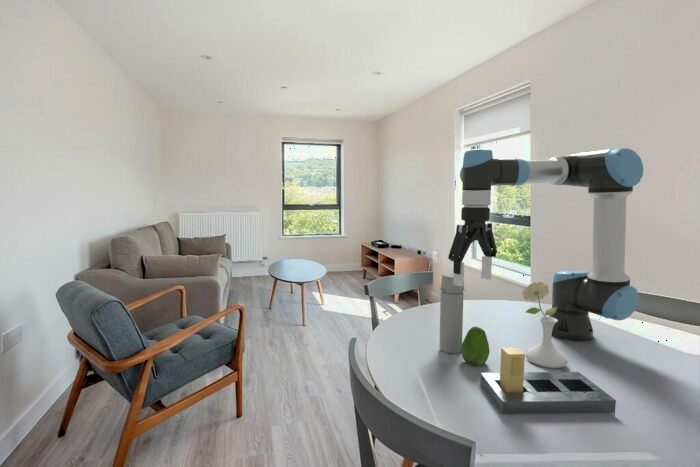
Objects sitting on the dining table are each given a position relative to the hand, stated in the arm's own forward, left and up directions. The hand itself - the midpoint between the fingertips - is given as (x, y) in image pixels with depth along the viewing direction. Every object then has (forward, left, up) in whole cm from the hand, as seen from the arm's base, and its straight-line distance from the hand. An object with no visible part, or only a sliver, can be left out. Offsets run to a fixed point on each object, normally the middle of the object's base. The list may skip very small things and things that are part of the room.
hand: (472, 282), depth 108 cm
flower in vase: (-24, -5, -26) cm, 36 cm away
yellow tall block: (-5, +16, -25) cm, 30 cm away
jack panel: (-13, +16, -26) cm, 33 cm away
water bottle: (+1, -16, -26) cm, 31 cm away
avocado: (-3, -4, -26) cm, 27 cm away
